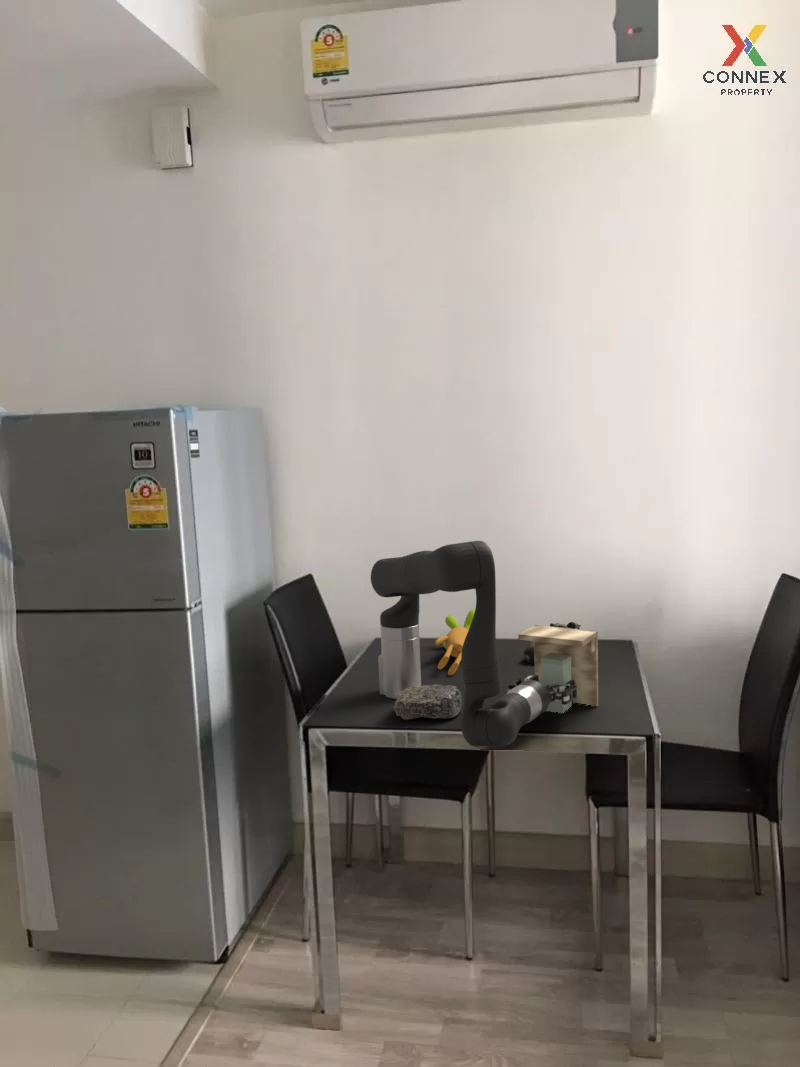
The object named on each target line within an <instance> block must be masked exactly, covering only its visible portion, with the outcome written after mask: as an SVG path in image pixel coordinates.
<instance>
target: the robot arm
mask: <svg viewBox="0 0 800 1067" xmlns="http://www.w3.org/2000/svg"><path fill="white" fill-rule="evenodd" d="M496 582H497V581H496V564H495V559H494V555H493V552H492V549H491V548H490V546H489V545H488V544H487V543H486V542H485V541H482V540H472V541H466V542H458V543H451V544H450V543H449V544H445V545H443V546H440V547H439V548H436V549H434V550H420V551H417V552H412V553H410V554H407V555H404V556H399V557H397V556H396V557H389V558H382V559H378V560H377V561H375V563H374V564H373V566H372V568H371V572H370V584H371V587H372V589H373V590H374V593H376V595H378V596H379V597H382V598H394V597H400V598H399V600H398V601H397V602H396V603H394V604H393V605H392V606H389V608H387V609H384V610H383V611H382V612H380V616H379V620H380V621H379V622H380V624H379V625H380V642H381V643H380V645H381V653H380V654H379V655H378V678H379V679H378V680H379V681H378V682H379V695H382V694H383V696H384V695H385V696H384V697H386V698H389V699H394V700H397V698H398V695H399V694H400V692H401V691H403V690H405V689H406V688H409V687H420V686H422V673H421V672H422V671H421V670H422V668H421V666H422V665H421V643H420V642H421V640H420V639H421V638H420V595H428V594H429V595H430V594H433V593H436V592H438V591H440V592H441V591H442V592H448V593H457V592H463V591H469V590H475V597H476V601H475V609H474V610H475V613H474V617H473V620H472V623H471V625H470V628H469V630H468V633H467V635H466V638H465V641H464V644H463V648H462V654H461V661H460V662H461V668H462V675H463V676H462V677H463V682H464V700H463V709H462V716H461V717H462V718H461V724H460V725H461V733H462V736H463V739H464V740H465V741H466V742H467V744H469V745H470V746H472V747H505V746H508V745H510V744H512V743H513V742H515V741H516V738H517V736H518V734H519V731H520V729H521V728H522V727H523V726H525V725H527V724H528V723H530V722H532V721H534V720H535V719H536V718H537V717H539V716H540V715H542V714H543V713H545V712H546V711H545V710H546V709H547V707H548V706H549V704H550V702H554V701H557V700H561V701H562V704H563V705H566V704H568V703H570V702H571V701H573V700H574V699H576V698H577V686H576V682H574V680H570V681H568V682H567V683H566V684H563V685H560V684H558V683H555V684H549V685H547V684H541V683H539V677H538V675H535V674H534V675H533V676H530V677H529V678H524V679H523V680H522V678H519V677H517V678H515V679H513V680H512V681H511V682H509V683H508V684H507V693H506V694H505V695H503V696H501V697H500V698H498V699H497V700H495V702H494V703H493V704H492V705H491V708H489V709H486V708H484V702H485V700H486V699H490V698H493V697H496V696H498V695H499V694H501V691H502V680H501V673H500V665H499V658H498V652H497V651H498V650H497V640H496V637H497V636H496V635H497V634H496V632H497V630H496V624H497V622H496V621H497V620H496V618H497V617H496V616H497V614H496V612H497V611H496V610H497V608H496V607H497V605H496V604H497V602H496V600H497V599H496V598H497V597H496V595H497V594H496V592H497V591H496V590H497V589H496V588H497V586H496V584H497V583H496ZM553 688H556V692H555V690H554V689H553ZM563 688H565V691H562V689H563Z"/></svg>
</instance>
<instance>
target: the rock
mask: <svg viewBox="0 0 800 1067" xmlns="http://www.w3.org/2000/svg"><path fill="white" fill-rule="evenodd" d="M462 698H463V697H462V693H461V691H460V690H459V689H458V688H457V686H455V685H452V684H448V685H441V684H436V683H435V684H431V685H428V684H427V685H426V684H423V685H421V686H420V687H409V688H406V689H405V690H403V691H401V692H400V694H399V695H398V698H397V699H395V703H394V704H393V706H392V711H393V712H395V714H396V715H395V716H397V717H400V718H402V719H403V720H404V721H411V720H414V719H415V720H416V719H417V718H418V719H419V718H421V717H422V718H428V719H435V720H436V719H444V720H446V719H452V718H455V717H456V716H458V715H459V713H460V712H461V710H462V708H463V700H462Z"/></svg>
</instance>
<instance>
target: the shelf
mask: <svg viewBox="0 0 800 1067" xmlns="http://www.w3.org/2000/svg"><path fill="white" fill-rule="evenodd" d="M598 632H599V631H597V630H589V629H581V628H580V629H571V628H561V627H550V625H549V626H548V625H538V624H534V625H533V626H531V627H529V628H528V629H525V630H523V631H521V632H520V633H518V636H517V638H518V640H520V641H528V642H529V641H530V646H533V647H534V675H538V677H539V683H541V684H542V667H541V658H542V657H544V656H545V655H547V654H549V653H556V654H565V655H572V660H571V680H574V682H576V686H577V698H576V699H574V700H573V701H572V702H575V703H581V704H586V705H585V706H588V705H591V706H590V707H595V706H596V708H597V707H599V640H598V639H599V637H598V636H599V635H598ZM575 703H574V704H575ZM581 704H580V705H581Z"/></svg>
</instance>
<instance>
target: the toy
mask: <svg viewBox="0 0 800 1067" xmlns="http://www.w3.org/2000/svg"><path fill="white" fill-rule="evenodd" d="M474 613H475V609H470V610H469V611H468V613H467V615H466V617H465V620H464V624H463V626H460V623H459V622H458V620H457V619H456V617H455V616H453V615H448V616H446V617H445V619H444V620H445V625H446V626H447V627H448V628H450V630H449V631H448V632H447V634H446V635H443V636H440V637H438V638H437V639H436V640H435V642H434V645H436V646H441V644H442V647H443V648H444V649H445V650H446V651H445V653H444V655H443V657H441V659H440V660H439V662H438V664H437V669H438V670H442V669H444V667H446V666H447V664H448V662H449V659H450V656H451V657H454V658H455V660H454V662H453V663H452V664H451V666H450V667H449V669H448V671H447V676H453V675H454V674H455V673H456V672H458V669H459V666H460V663H461V662H462V661H461V654H462V648H463V644H464V641H465V638H466V635H467V633H468V630H469V628H470V625H471V623H472V620H473V617H474Z"/></svg>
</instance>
